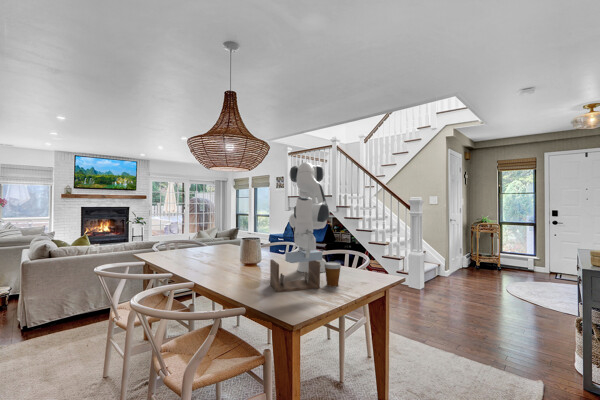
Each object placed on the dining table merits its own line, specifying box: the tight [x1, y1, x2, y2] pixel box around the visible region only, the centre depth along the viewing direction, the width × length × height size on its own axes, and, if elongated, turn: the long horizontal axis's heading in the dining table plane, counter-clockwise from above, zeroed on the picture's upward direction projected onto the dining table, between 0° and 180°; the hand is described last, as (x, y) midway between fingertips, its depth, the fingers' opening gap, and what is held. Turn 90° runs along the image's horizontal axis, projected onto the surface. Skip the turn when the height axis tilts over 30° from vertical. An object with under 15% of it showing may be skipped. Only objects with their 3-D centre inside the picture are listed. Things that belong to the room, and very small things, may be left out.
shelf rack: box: [269, 259, 321, 293], centre depth 162 cm, size 24×14×14 cm, turn 109°
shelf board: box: [284, 249, 323, 264], centre depth 148 cm, size 18×6×4 cm, turn 121°
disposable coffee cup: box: [324, 261, 342, 287], centre depth 165 cm, size 10×10×12 cm
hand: (304, 256), depth 148 cm, fingers closed on shelf board, 6 cm apart
